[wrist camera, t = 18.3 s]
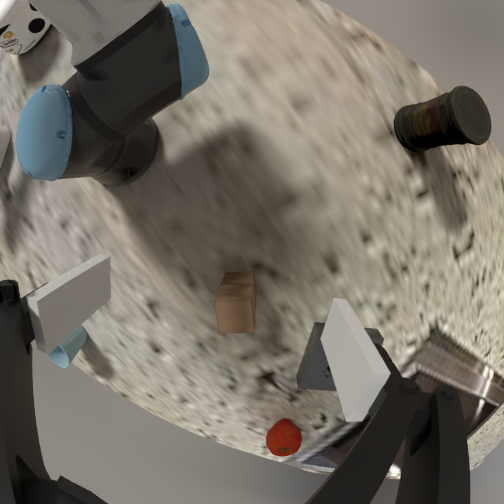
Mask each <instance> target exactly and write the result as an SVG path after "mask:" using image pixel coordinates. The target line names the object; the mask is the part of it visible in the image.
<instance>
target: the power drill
mask: <svg viewBox="0 0 504 504" xmlns="http://www.w3.org/2000/svg"><path fill="white" fill-rule="evenodd" d="M10 138H11V133H10V130H9V129H8V128H7V127H5V126H0V170H1V166H2V163H3V160H4V157H5V154H6V151H7V148H8V145H9V141H10Z"/></svg>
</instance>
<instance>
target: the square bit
mask: <svg viewBox="0 0 504 504" xmlns="http://www.w3.org/2000/svg"><path fill="white" fill-rule="evenodd" d="M214 305H215V311H216V317H217V323H218V329H219V334H221V333H246V332H254V324H255V308H256V290H255V280H254V271H250V272H236V273H225V276H224V278H223V281H222V283H221V286H220V289H219V291H218V294H217V296H216V299H215V302H214Z"/></svg>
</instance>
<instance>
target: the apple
mask: <svg viewBox="0 0 504 504" xmlns="http://www.w3.org/2000/svg"><path fill="white" fill-rule="evenodd" d="M301 441H302V435H301V432H300V430H299V428H298V427H297V426H296V425H295V424H293V423H292V422H291V421H290V420H288V419H282V420H279V421H278V422H277V423H276V424H275V425H274V426H273V427H272V428H271V429H270V430H269V432H268V433H267V436H266V445H267V447H268V449H269V450H270V452H271V453H272V454H274V455H276V456H288V455H291V454H294V453H296V452H297V451H298V450H299V448H300V446H301Z"/></svg>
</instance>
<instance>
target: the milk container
mask: <svg viewBox="0 0 504 504" xmlns="http://www.w3.org/2000/svg"><path fill="white" fill-rule="evenodd" d="M50 26H51V23H50V22H49V21H48V20H47V19H46V18H45V17H44V16H43V15H42V14H41V13H40V12H39V11H38V10H37V9H36V8H35V7H34V6H33V5H32V4H31V3H30V2H28V1H27V0H1V1H0V47H2V48H3V49H4V50H5V51H6V52H8V53H10V54H14V55H20V54H24V53H26V52H27V51H29V50H30V49H32V48H33V47H34V46H35V45H36V44H37V43H38V42H39V41H40V40H41V38H42V37H43V36H44V35H45V33H46V32H47V30H48V29H49V27H50Z"/></svg>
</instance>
